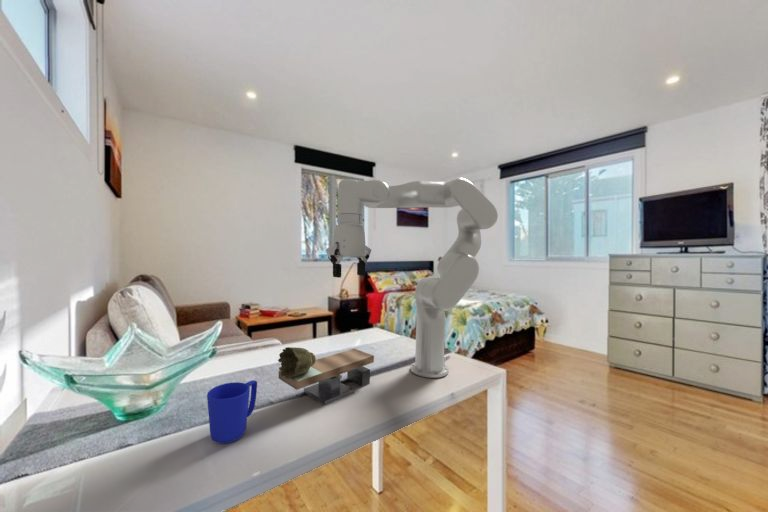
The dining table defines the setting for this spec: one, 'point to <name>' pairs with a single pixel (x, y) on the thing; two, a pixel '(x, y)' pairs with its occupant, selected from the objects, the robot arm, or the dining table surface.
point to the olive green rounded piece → (295, 361)
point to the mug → (230, 410)
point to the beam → (330, 368)
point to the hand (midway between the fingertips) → (349, 276)
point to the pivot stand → (338, 386)
